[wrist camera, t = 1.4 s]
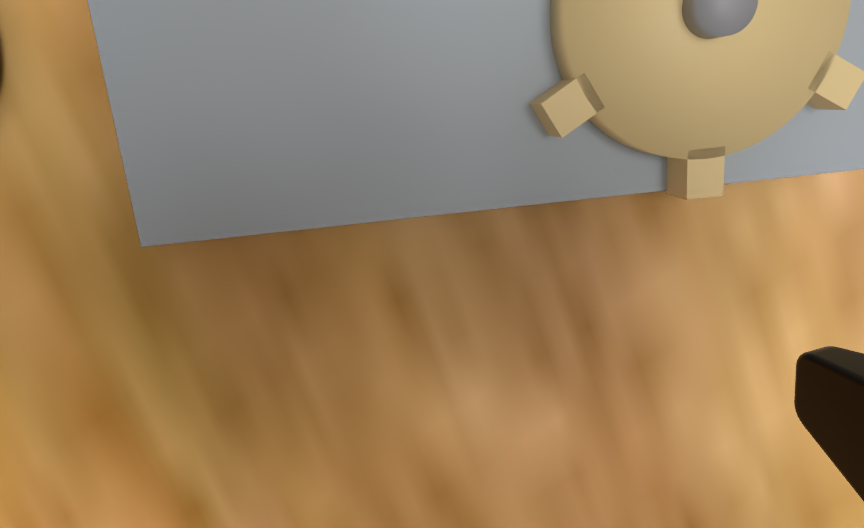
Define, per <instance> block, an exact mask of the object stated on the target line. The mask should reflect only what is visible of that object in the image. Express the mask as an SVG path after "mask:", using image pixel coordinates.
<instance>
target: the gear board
mask: <svg viewBox="0 0 864 528" xmlns="http://www.w3.org/2000/svg"><path fill="white" fill-rule="evenodd" d="M87 1H88V5H89V10H90V14H91V19H92V24H93V28H94V33H95V37H96V42H97V47H98V51H99V56H100V60H101V65H102V70H103V74H104V79H105V83H106V88H107V92H108V97H109V102H110V106H111V111H112V115H113V120H114V125H115V129H116V134H117V138H118V143H119V148H120V152H121V157H122V161H123V166H124V170H125V175H126V180H127V184H128V189H129V193H130V198H131V203H132V207H133V212H134V216H135V221H136V226H137V230H138V235H139V239H140V244H141V247H147V246H156V245H165V244H175V243H184V242H193V241H202V240H212V239H221V238H230V237H239V236H249V235H258V234H267V233H276V232H286V231H295V230H304V229H313V228H323V227H332V226H341V225H350V224H360V223H369V222H378V221H388V220H397V219H406V218H415V217H425V216H434V215H443V214H452V213H462V212H471V211H480V210H489V209H499V208H508V207H517V206H526V205H536V204H545V203H554V202H563V201H573V200H582V199H591V198H600V197H610V196H619V195H628V194H638V193H647V192H656V191H665V190H667V194H669V195H673V196H676V197H679V198H683V199H686V200H689V199H698V198H707V197H716V196H723V189H724V184H730V183H739V182H749V181H758V180H767V179H776V178H786V177H795V176H804V175H813V174H823V173H832V172H841V171H850V170H860V169H864V0H87Z"/></svg>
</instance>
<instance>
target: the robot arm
mask: <svg viewBox="0 0 864 528" xmlns="http://www.w3.org/2000/svg"><path fill="white" fill-rule="evenodd" d="M794 403H795V409H796V413H797V415H798V417H799V419H800V421H801V422H802V424H803V425H804V427H805V428H806V429H807V430H808V432H809V433H810V434H811V435H812V437H813V438H814V439H815V440H816V442H817V443H818V444H819V445H820V447H821V448H822V449H823V451H824V452H825V453H826V454H827V456H828V457H829V458H830V459H831V461H832V462H833V463H834V464H835V466H836V467H837V468H838V469H839V471H840V472H841V473H842V475H843V476H844V477H845V478H846V480H847V481H848V482H849V483H850V485H851V486H852V487H853V488H854V490H855V491H856V492H857V493H858V495H859V496H860V497H861V499H862V500H863V501H864V354H863V353H859V352H855V351H850V350H846V349H842V348H838V347H833V346H828V347H823V348H819V349H816V350H813V351H809V352H806V353H803V354H802V355H800V357H799V358H798V360H797V364H796V380H795V400H794Z"/></svg>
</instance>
